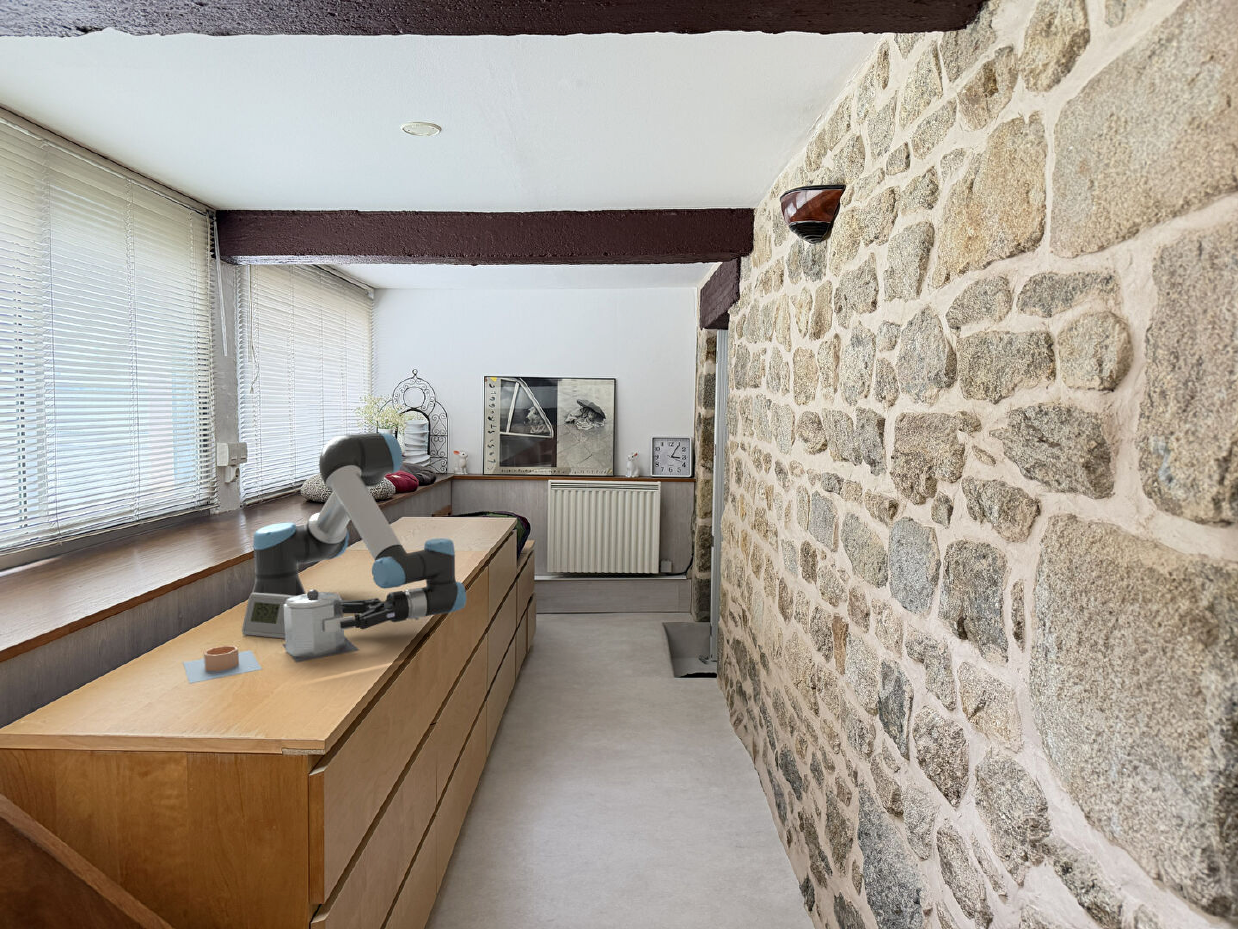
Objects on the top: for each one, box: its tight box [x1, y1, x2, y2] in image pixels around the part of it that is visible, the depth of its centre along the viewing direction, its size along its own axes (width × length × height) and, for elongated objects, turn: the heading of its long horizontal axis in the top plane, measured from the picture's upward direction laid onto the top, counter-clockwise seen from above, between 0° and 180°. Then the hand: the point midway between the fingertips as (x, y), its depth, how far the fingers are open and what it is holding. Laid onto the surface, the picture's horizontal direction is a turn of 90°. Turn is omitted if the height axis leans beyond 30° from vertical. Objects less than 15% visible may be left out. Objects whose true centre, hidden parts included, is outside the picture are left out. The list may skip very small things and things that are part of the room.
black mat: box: [282, 635, 360, 663], centre depth 180 cm, size 16×14×1 cm
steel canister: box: [283, 589, 345, 657], centre depth 178 cm, size 12×12×14 cm
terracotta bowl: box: [203, 645, 239, 671], centre depth 168 cm, size 7×7×4 cm
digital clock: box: [241, 592, 294, 640], centre depth 191 cm, size 16×9×11 cm, turn 59°
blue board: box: [182, 649, 263, 684], centre depth 168 cm, size 16×14×1 cm
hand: (317, 620), depth 179 cm, fingers open, 13 cm apart
